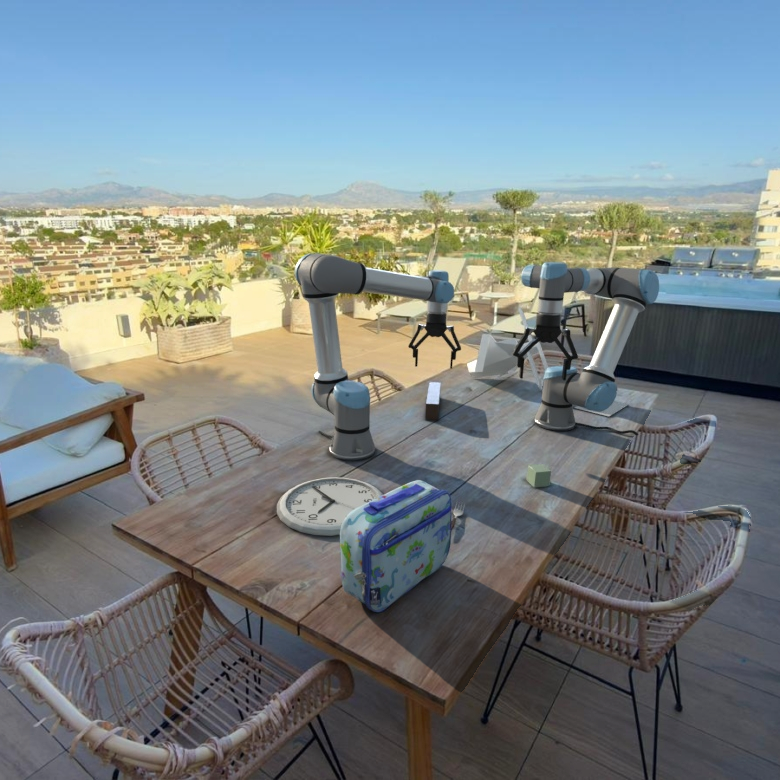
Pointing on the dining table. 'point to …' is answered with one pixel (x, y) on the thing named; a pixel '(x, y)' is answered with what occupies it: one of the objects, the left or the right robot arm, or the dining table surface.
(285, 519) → the wall clock
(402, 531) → the lunch box
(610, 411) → the invitation card
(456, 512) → the fork
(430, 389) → the walnut block
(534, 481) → the sage block
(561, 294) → the right robot arm
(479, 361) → the white plastic object
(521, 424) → the dining table surface
